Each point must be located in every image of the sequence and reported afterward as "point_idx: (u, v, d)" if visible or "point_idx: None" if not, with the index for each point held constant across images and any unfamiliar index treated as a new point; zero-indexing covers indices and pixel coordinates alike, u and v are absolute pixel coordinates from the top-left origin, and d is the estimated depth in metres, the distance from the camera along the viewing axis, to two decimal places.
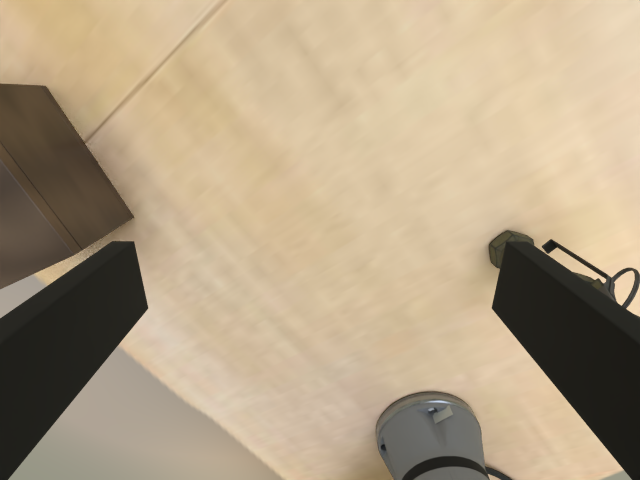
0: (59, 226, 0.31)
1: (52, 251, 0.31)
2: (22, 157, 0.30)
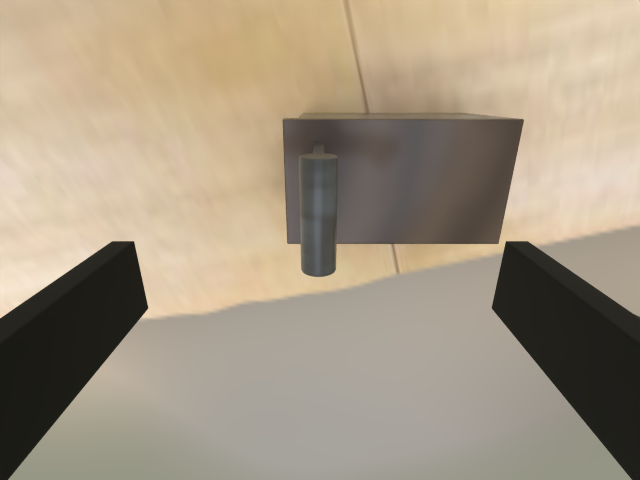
0: (480, 118, 0.24)
1: (504, 142, 0.24)
2: (386, 117, 0.26)
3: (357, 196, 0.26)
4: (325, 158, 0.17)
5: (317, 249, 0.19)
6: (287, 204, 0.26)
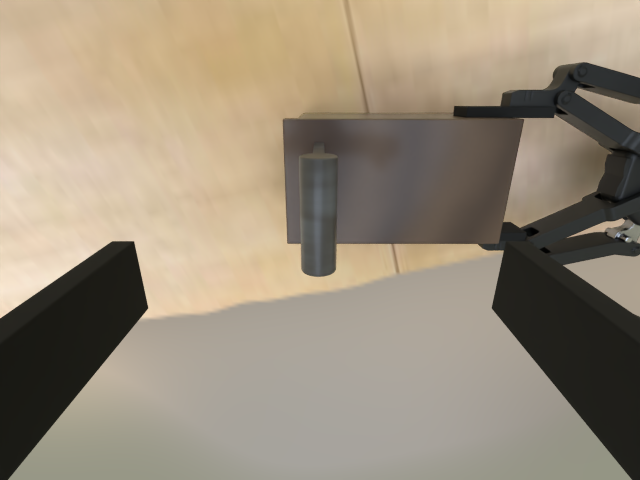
0: (480, 118, 0.24)
1: (504, 142, 0.24)
2: (386, 117, 0.26)
3: (357, 196, 0.26)
4: (325, 158, 0.17)
5: (317, 249, 0.19)
6: (287, 204, 0.26)
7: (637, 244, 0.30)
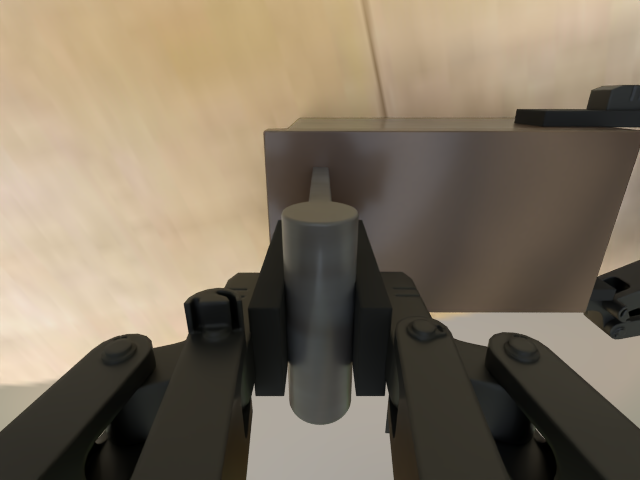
0: (573, 129, 0.16)
1: (609, 166, 0.16)
2: (423, 127, 0.17)
3: (378, 246, 0.17)
4: (334, 220, 0.08)
5: (318, 382, 0.10)
6: None
7: None
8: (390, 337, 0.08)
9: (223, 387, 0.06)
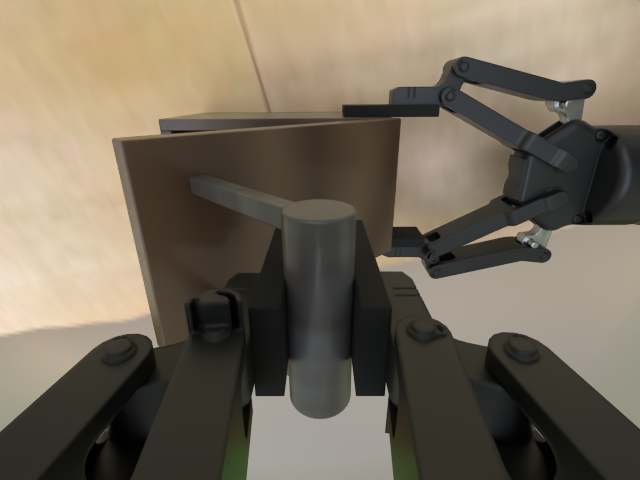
0: None
1: (389, 144, 0.22)
2: None
3: (262, 244, 0.17)
4: (349, 212, 0.09)
5: (341, 371, 0.10)
6: (157, 293, 0.14)
7: (544, 250, 0.28)
8: (389, 336, 0.08)
9: (223, 387, 0.06)
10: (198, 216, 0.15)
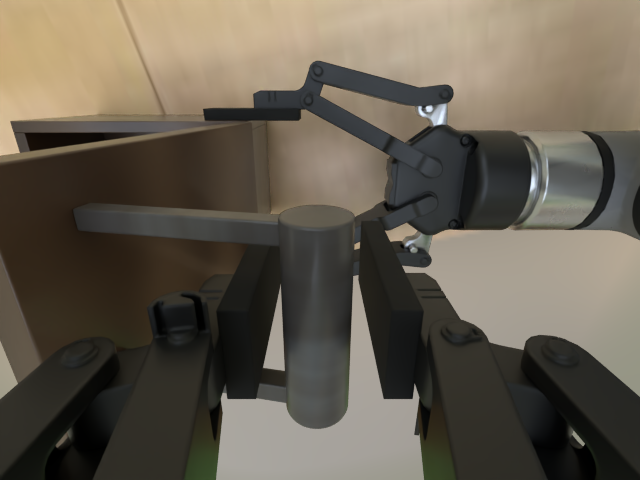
0: (223, 124, 0.20)
1: (247, 148, 0.22)
2: (115, 120, 0.24)
3: (161, 277, 0.14)
4: (348, 212, 0.09)
5: (348, 368, 0.11)
6: None
7: (424, 254, 0.28)
8: (421, 339, 0.08)
9: (188, 390, 0.06)
10: (89, 260, 0.11)
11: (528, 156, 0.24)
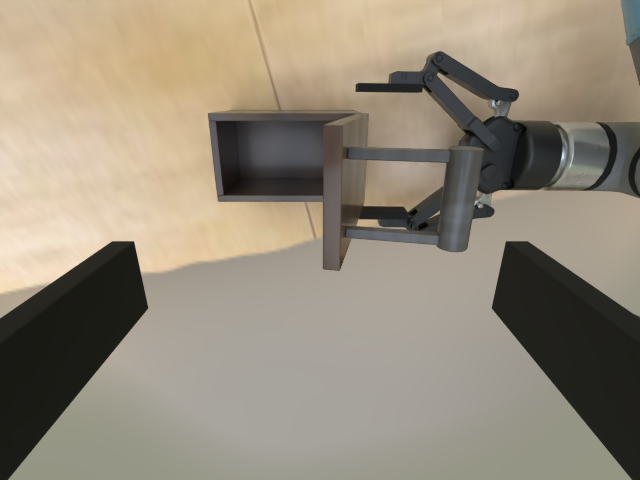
0: (358, 114, 0.32)
1: (366, 130, 0.34)
2: None
3: (352, 194, 0.26)
4: None
5: (470, 224, 0.23)
6: (341, 225, 0.22)
7: (488, 208, 0.40)
8: None
9: None
10: (347, 174, 0.23)
11: (560, 137, 0.36)
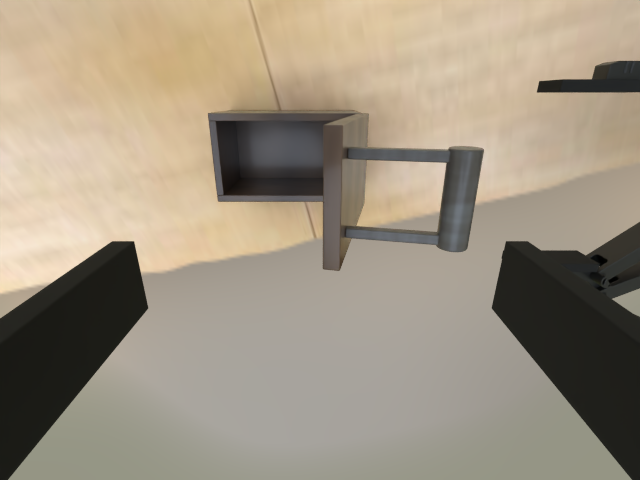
0: (358, 114, 0.32)
1: (366, 130, 0.34)
2: None
3: (352, 195, 0.26)
4: (478, 147, 0.21)
5: (470, 224, 0.23)
6: (341, 225, 0.22)
7: None
8: None
9: None
10: (347, 174, 0.23)
11: None
